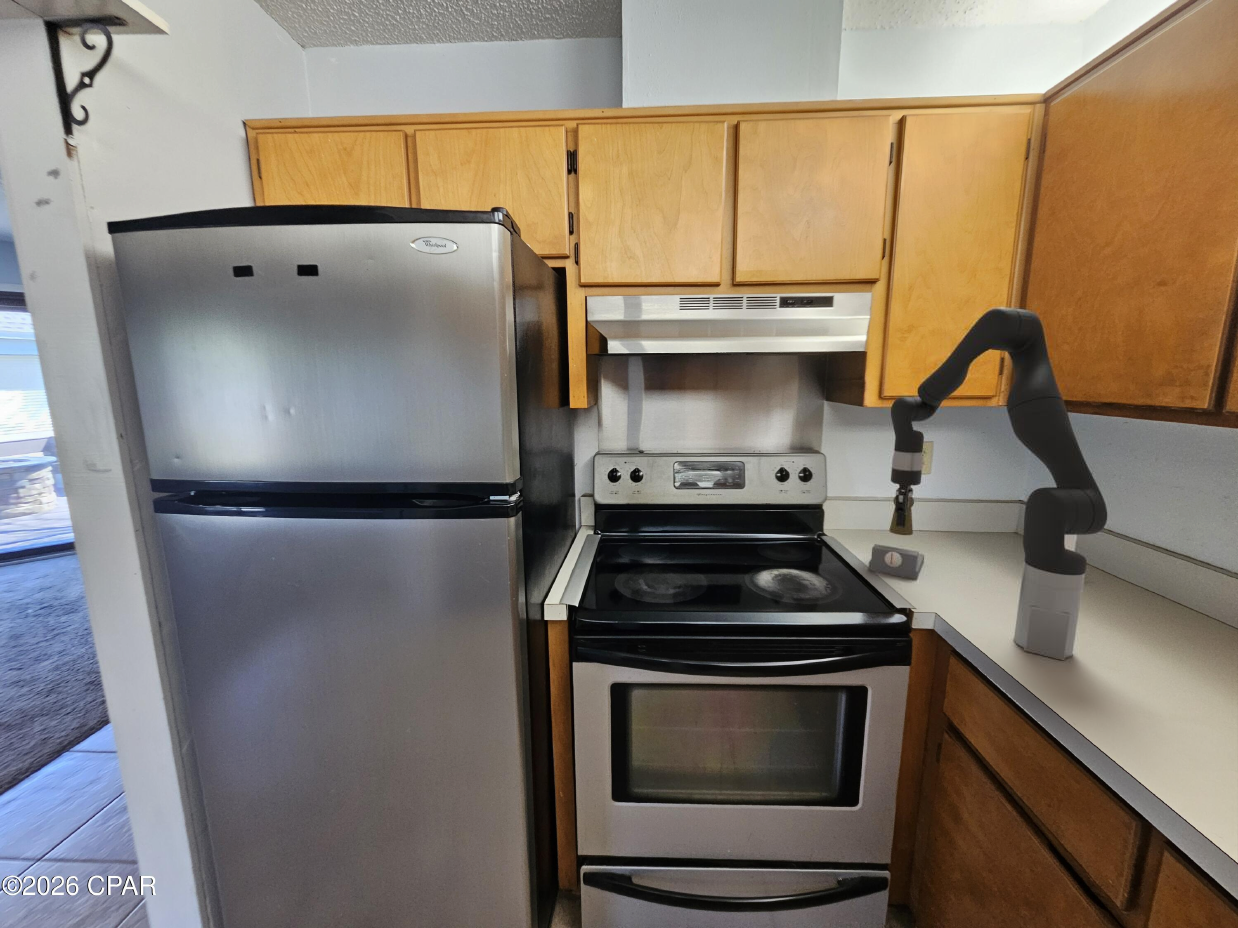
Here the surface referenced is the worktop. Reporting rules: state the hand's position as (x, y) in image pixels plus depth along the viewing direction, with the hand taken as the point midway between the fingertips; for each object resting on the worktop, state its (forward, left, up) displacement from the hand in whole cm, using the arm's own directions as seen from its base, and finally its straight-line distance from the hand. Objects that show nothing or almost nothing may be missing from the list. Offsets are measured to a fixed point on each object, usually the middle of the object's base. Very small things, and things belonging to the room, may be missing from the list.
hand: (901, 524), depth 145 cm
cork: (0, 0, -2) cm, 2 cm away
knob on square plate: (-2, 0, -12) cm, 12 cm away
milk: (+21, -36, -12) cm, 43 cm away
